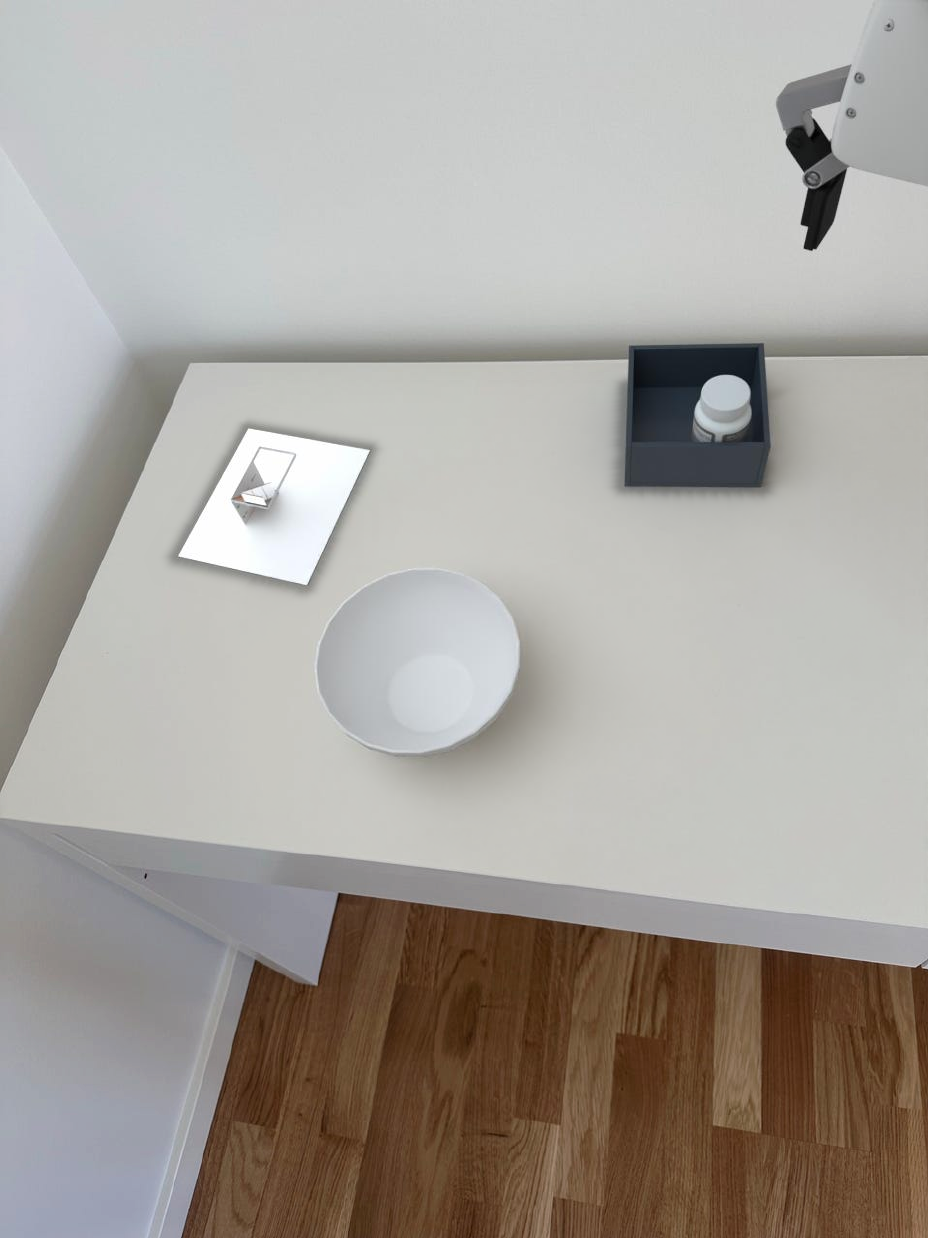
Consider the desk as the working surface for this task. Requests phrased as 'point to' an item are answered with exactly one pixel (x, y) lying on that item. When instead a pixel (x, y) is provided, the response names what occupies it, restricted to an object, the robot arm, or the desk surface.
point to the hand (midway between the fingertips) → (897, 257)
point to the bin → (691, 416)
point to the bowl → (418, 662)
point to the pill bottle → (722, 411)
